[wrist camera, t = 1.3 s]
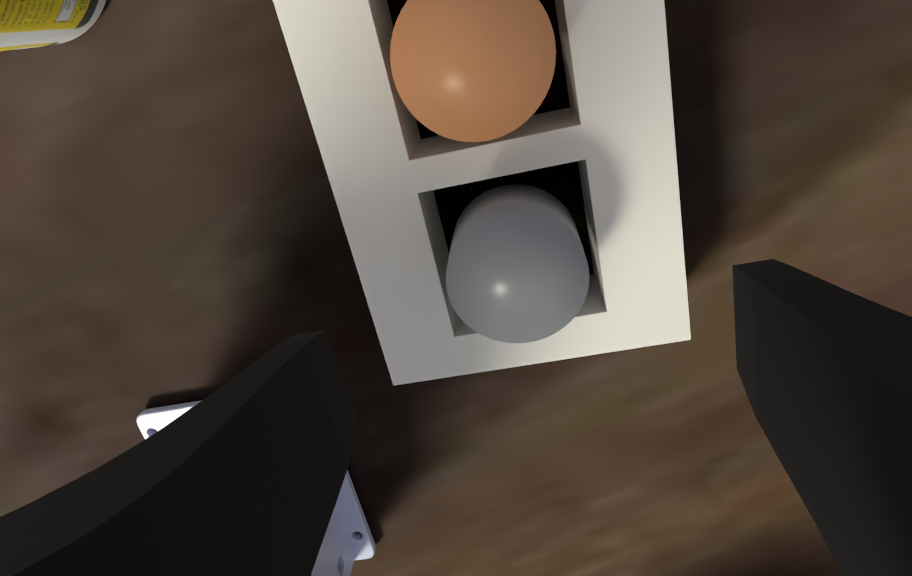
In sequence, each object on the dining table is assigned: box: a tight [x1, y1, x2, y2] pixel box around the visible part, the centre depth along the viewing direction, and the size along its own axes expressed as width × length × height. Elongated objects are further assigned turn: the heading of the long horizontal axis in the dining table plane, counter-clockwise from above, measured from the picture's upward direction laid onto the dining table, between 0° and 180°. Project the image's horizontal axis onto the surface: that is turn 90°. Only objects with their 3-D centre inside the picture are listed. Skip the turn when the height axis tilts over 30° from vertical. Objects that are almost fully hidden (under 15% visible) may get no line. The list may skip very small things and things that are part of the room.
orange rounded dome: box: [390, 0, 556, 142], centre depth 16 cm, size 4×4×3 cm
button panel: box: [273, 0, 691, 386], centre depth 18 cm, size 20×10×3 cm, turn 13°
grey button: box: [446, 184, 589, 343], centre depth 19 cm, size 4×4×3 cm
